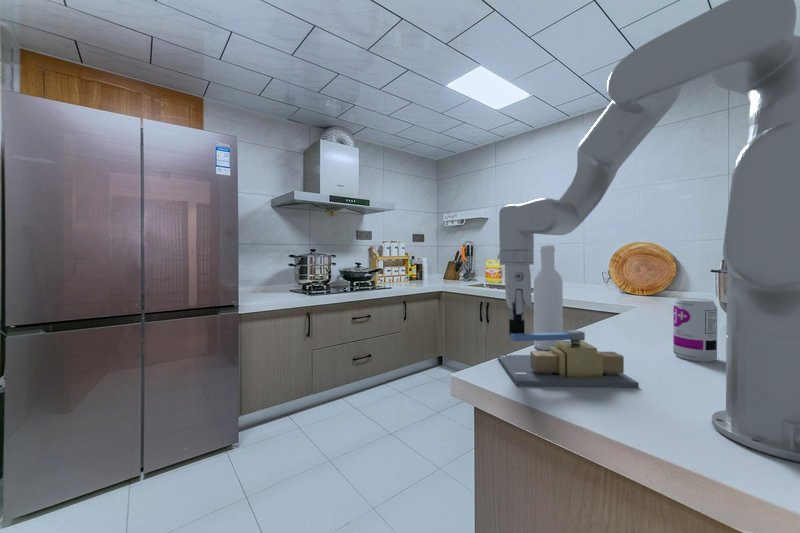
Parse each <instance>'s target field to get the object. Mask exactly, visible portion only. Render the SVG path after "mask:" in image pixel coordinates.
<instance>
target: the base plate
mask: <svg viewBox="0 0 800 533" xmlns="http://www.w3.org/2000/svg"><path fill="white" fill-rule="evenodd" d="M507 355H508V356H507ZM503 356H505V357H503ZM501 357H502V358H501ZM497 358H499V359H497ZM497 358H496V359H497V360H498V362H499V363H500V364H501V366H502V367H503V369H504V370H505V372H506V373H507V374H508V376H509V377H510V378H511V380H512V382H513V383H514V384H515V386H517V387H576V388H578V387H581V388H582V387H583V388H589V387H590V388H636V389H637V388H640V387H639V386H640V385H639V382H638V381H637V380H635V379H633V378H632V377H630V376H628V375H627V374H625V373H615V376H605V375H603V378H566V377H559V376H558V375H556V374H555V373H552V375H542V374H541V373H537V372H535V371H534V370H533V369H532V368H531V356H530V354H497Z"/></svg>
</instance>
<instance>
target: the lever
mask: <svg viewBox="0 0 800 533" xmlns="http://www.w3.org/2000/svg"><path fill="white" fill-rule="evenodd" d="M585 333H586V332H585V331H582V330H576V329H570V330H565V331H563V332H552V333H534V332H524V333H516V334H510V335H511V337H510V340H511V341H512V342H534V341H545V340H563V341H571V340H578V341H585V336H586V334H585ZM510 335H509V336H510Z"/></svg>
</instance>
